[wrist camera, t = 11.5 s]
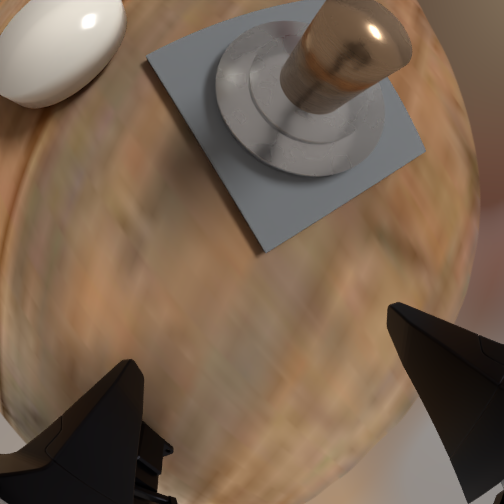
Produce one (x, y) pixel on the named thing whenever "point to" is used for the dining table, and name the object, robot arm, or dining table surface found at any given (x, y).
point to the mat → (250, 169)
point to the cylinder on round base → (312, 87)
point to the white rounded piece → (58, 48)
